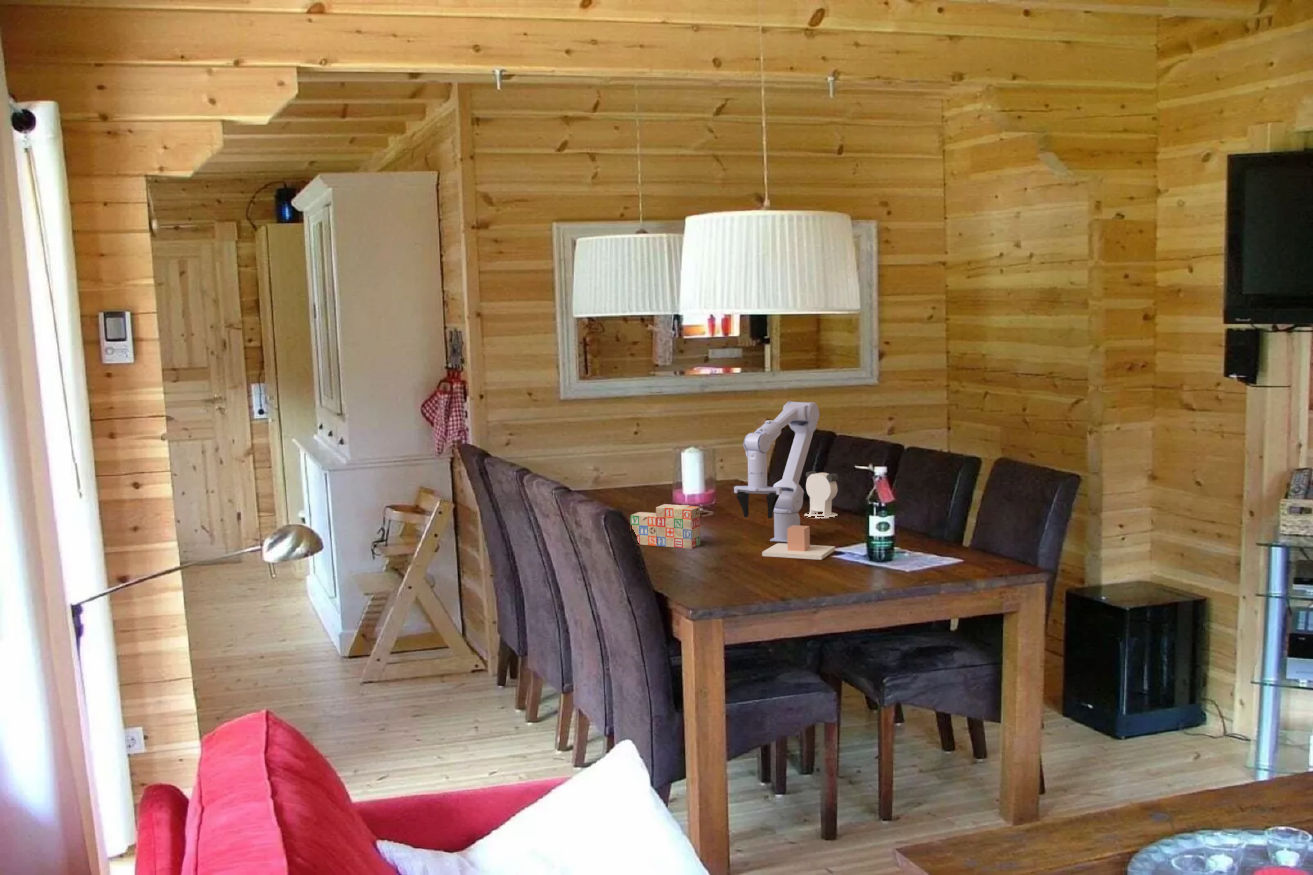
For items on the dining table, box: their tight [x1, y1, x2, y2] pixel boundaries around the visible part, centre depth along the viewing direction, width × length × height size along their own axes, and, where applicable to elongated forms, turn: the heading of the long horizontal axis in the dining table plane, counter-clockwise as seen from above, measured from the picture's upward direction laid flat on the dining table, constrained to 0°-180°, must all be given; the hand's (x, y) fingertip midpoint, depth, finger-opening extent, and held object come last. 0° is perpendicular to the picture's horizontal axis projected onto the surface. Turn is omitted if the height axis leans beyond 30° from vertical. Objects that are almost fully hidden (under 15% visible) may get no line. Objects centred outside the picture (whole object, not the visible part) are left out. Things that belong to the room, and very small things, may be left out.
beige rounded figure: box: [804, 470, 839, 519], centre depth 434 cm, size 12×11×15 cm
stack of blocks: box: [629, 503, 701, 549], centre depth 391 cm, size 21×6×12 cm, turn 63°
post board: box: [761, 542, 836, 561], centre depth 372 cm, size 14×18×7 cm
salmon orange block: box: [786, 525, 811, 551], centre depth 372 cm, size 5×5×7 cm
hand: (758, 517), depth 381 cm, fingers open, 7 cm apart
